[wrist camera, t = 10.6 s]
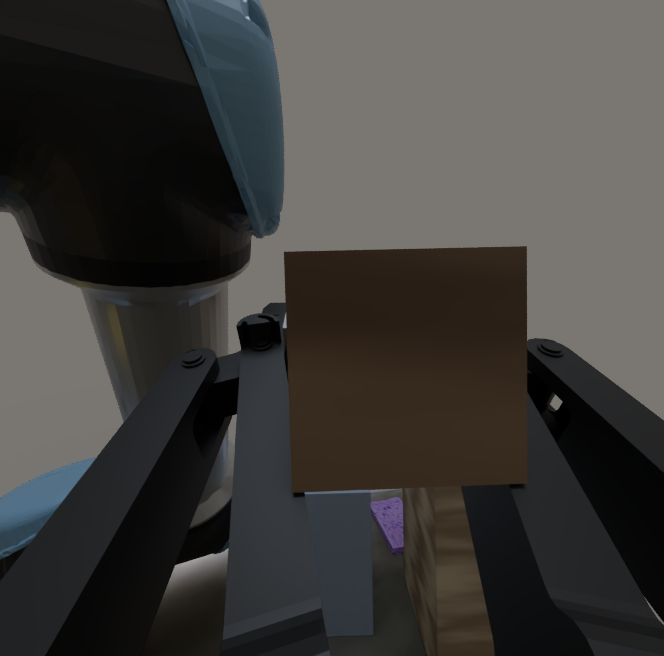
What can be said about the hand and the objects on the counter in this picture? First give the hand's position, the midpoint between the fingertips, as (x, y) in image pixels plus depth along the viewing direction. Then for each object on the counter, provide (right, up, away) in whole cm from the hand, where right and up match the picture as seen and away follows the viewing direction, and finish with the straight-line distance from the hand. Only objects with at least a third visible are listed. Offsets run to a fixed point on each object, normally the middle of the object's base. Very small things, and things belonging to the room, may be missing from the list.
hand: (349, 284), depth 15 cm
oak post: (+14, -41, +22) cm, 49 cm away
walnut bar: (0, -5, +2) cm, 5 cm away
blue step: (-1, -42, +26) cm, 49 cm away
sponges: (+12, -42, +40) cm, 59 cm away
